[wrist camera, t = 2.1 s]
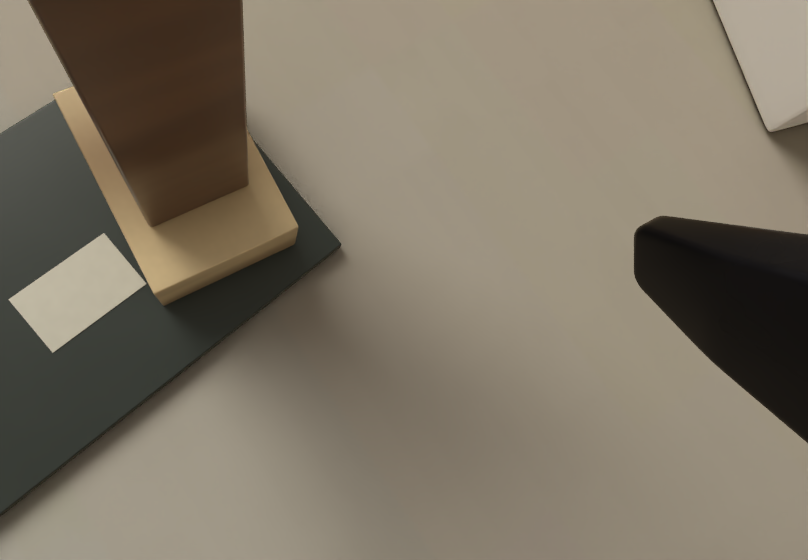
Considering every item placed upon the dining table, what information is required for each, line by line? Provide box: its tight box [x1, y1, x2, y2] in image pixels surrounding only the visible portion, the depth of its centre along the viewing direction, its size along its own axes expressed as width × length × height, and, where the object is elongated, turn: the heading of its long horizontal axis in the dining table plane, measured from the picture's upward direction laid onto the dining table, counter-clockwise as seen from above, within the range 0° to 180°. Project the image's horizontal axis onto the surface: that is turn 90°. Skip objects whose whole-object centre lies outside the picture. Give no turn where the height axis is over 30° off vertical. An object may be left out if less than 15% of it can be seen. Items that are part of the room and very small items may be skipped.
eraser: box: [28, 0, 298, 306], centre depth 15 cm, size 6×4×14 cm
